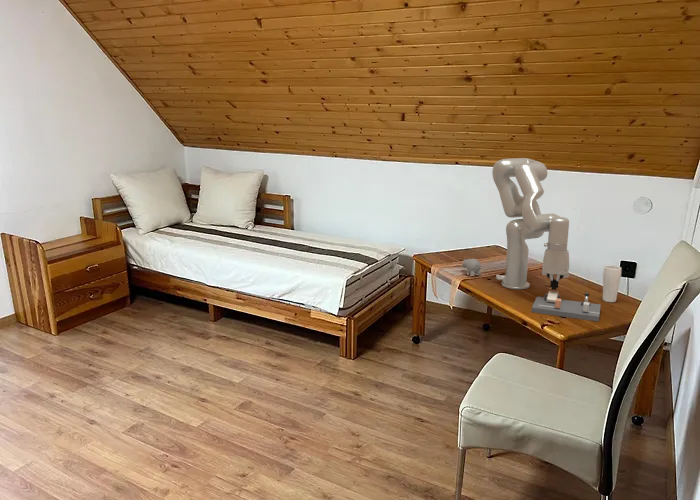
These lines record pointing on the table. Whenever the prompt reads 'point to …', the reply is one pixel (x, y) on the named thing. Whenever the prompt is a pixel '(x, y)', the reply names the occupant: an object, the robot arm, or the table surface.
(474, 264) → the toy rhinoceros
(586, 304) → the slide paddle
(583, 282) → the table surface
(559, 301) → the slide paddle
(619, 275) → the drinking glass
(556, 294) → the rocker switch
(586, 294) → the toggle lever
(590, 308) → the switch panel
